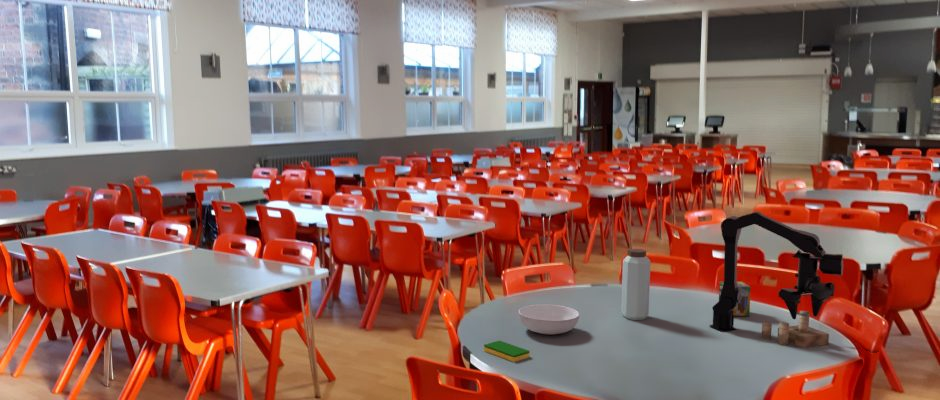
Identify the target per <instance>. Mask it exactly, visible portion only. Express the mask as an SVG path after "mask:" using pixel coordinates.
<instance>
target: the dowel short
mask: <svg viewBox="0 0 940 400" xmlns="http://www.w3.org/2000/svg"><path fill="white" fill-rule="evenodd" d="M761 324H762V325H761V338H762V339H766V340H767V339H768V340H769V339H771V338H772V330H773V329H772V327H773V324H772V322H770V321H762V322H761Z"/></svg>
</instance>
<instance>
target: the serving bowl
mask: <svg viewBox="0 0 940 400" xmlns="http://www.w3.org/2000/svg"><path fill="white" fill-rule="evenodd" d="M518 318H519V320H520V323H521V324H522V325H523V326H524V327H525V329H528V330H529V331H531V332H534V333H538V334H542V335H545V336H546V335H548V336H549V335H558V334H563V333H567V332H569V331H572V330H573V329H574V328H575V327H576V326H577V324H578V322H579V319H580V312H579V311H577V310H576V309H574V308H571V307H568V306H566V305H565V306H563V305H559V304H548V303H545V304H544V303H543V304H542V303H541V304H531V305H526V306H523V307H521V308H519V309H518Z"/></svg>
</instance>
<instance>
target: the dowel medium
mask: <svg viewBox="0 0 940 400" xmlns="http://www.w3.org/2000/svg"><path fill="white" fill-rule="evenodd" d="M789 326H790V323H789V322H785V321H780V322H779V324H778V328H779V336H778V335H777V340H778V341H777V343H778V345H780V346H788V344H789V342H788V335H789Z"/></svg>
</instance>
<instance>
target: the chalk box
mask: <svg viewBox="0 0 940 400" xmlns="http://www.w3.org/2000/svg"><path fill="white" fill-rule="evenodd" d="M723 284H724V281H719V286H718V300H719V299H720V295H721V291H722V287H723ZM737 285H738V287H742V293H741V295H742V299H741V300H740V302H739V304H738V305H737V306H736V307H735V308H733V309H732V310H731V311H733V315H734V317H750V313H751V312H750V311H751V309H750V308H751V307H750V306H751V286H750V285H749V284H747V283H745V282H743V281H737Z"/></svg>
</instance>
